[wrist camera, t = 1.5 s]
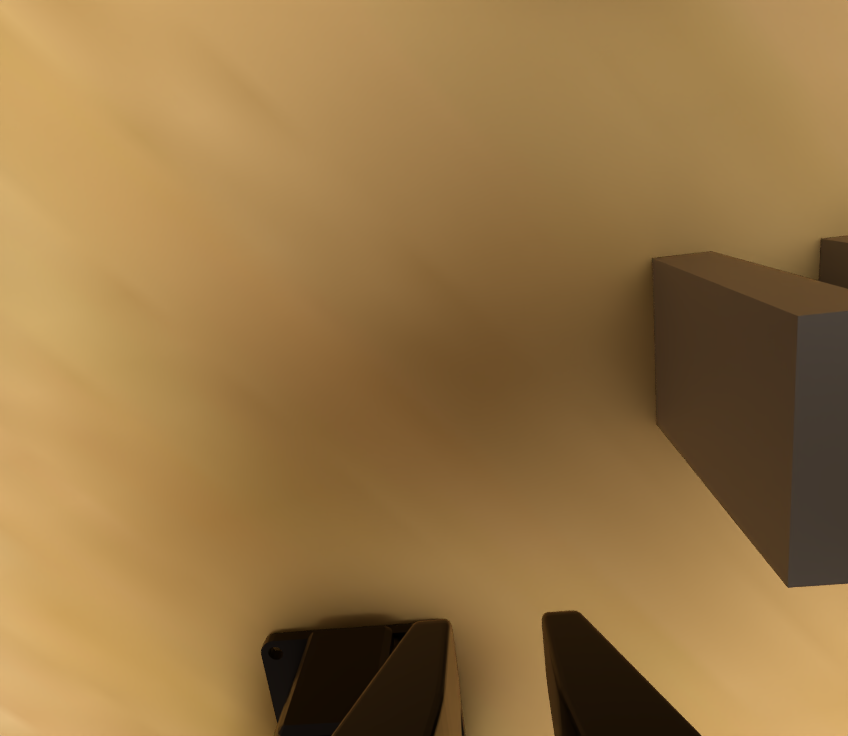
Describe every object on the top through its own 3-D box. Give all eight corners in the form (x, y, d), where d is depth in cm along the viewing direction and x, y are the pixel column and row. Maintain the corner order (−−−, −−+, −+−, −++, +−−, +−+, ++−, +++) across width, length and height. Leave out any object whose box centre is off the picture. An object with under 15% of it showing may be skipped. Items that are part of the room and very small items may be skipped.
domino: (711, 419, 19) (881, 581, 11) (656, 424, 19) (788, 587, 11) (711, 251, 18) (904, 304, 10) (652, 258, 18) (798, 316, 10)
